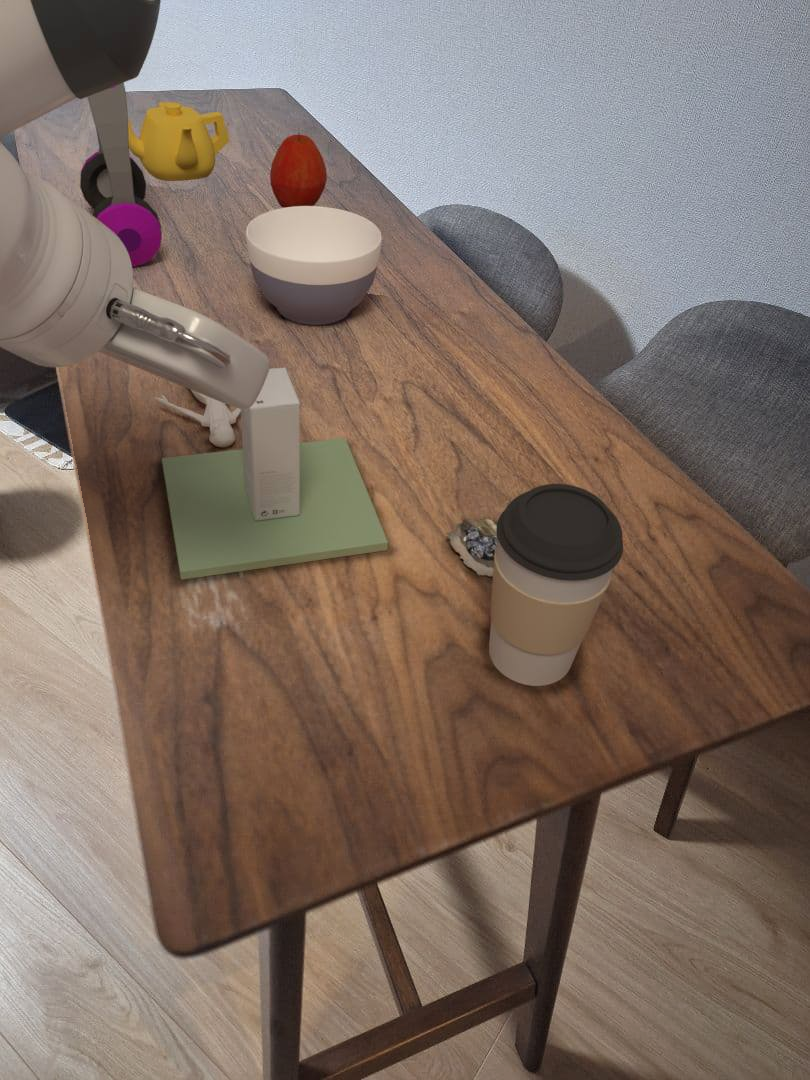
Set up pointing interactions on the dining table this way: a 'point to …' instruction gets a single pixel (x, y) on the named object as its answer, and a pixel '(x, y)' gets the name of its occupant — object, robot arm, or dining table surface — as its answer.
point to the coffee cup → (549, 579)
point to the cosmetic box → (273, 448)
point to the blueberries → (476, 544)
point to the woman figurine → (211, 418)
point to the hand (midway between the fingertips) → (177, 362)
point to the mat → (245, 544)
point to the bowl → (313, 261)
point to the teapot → (178, 142)
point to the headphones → (119, 179)
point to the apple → (298, 172)
